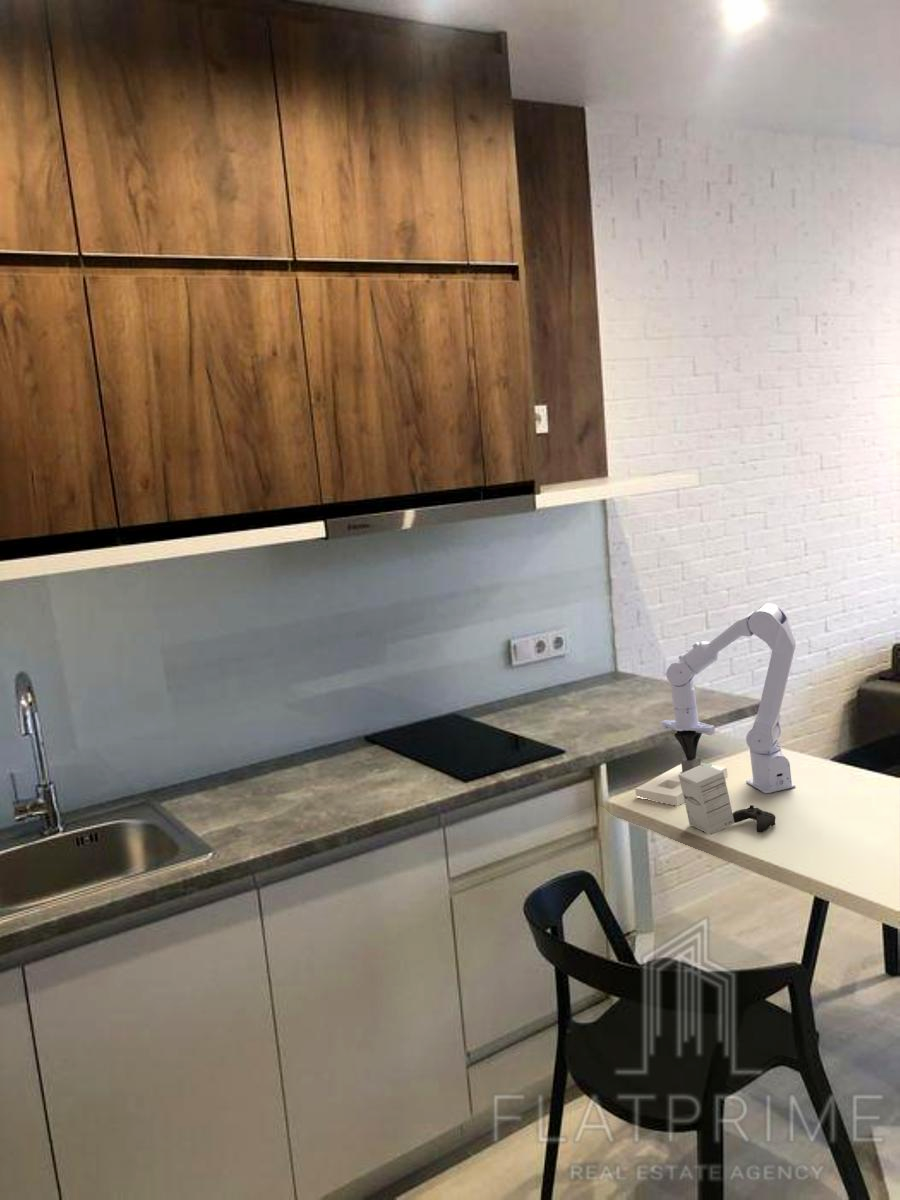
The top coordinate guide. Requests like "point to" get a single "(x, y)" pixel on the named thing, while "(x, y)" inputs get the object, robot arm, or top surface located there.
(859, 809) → the top surface
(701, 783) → the supplement box
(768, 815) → the game controller
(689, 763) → the plug
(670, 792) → the panel
